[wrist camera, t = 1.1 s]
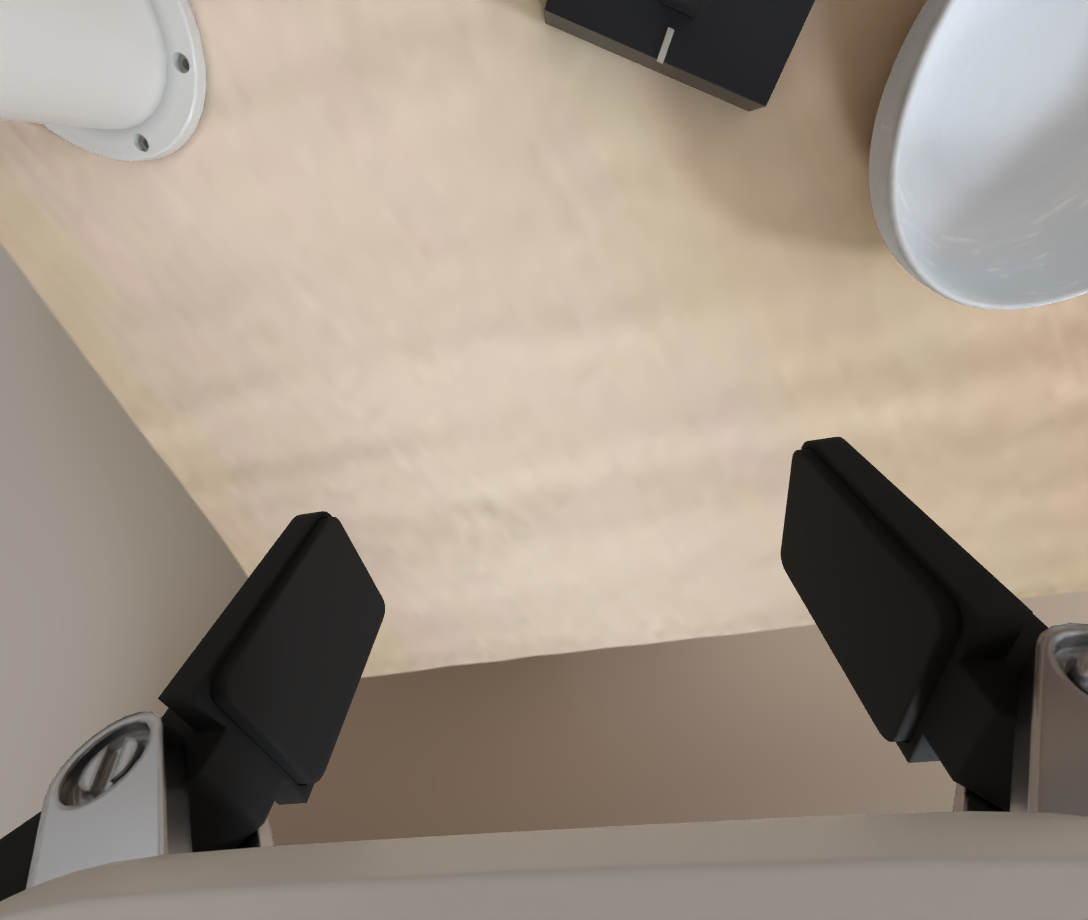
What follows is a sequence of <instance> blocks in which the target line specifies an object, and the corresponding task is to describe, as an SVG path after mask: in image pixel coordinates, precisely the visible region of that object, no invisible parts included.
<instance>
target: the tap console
mask: <svg viewBox="0 0 1088 920" xmlns="http://www.w3.org/2000/svg"><path fill="white" fill-rule="evenodd" d="M814 1H815V0H712V1H711V2H710V3H709V4H708V5H707V6H706V7H705V8H704V9H703V10H702V11H701V12H700V13H699V14H698V15H697V17H696V18H692V17H690V16H688V15H686V14H684V13H681V12H679V11H677V10H675V9H673V8H670V7H668V6H666V5H664V4H662V3H661V2H660V0H547V3H546V7H545V23H547V24H549V25H551V26H553V27H556V28H558V29H560V30H563V31H565V32H567V33H570V34H572V35H574V36H577V37H579V38H581V39H583V40H586V41H588V42H590V43H593V44H595V45H597V46H600V47H602V48H604V49H607V50H609V51H611V52H613V53H616V54H618V55H620V56H623V57H625V58H627V59H630V60H632V61H634V62H636V63H639V64H641V65H643V66H646V67H648V68H650V69H653V70H655V71H657V72H660V73H662V74H664V75H666V76H669V77H671V78H673V79H676V80H678V81H680V82H683V83H685V84H687V85H690V86H692V87H694V88H696V89H699V90H701V91H703V92H706V93H708V94H710V95H713V96H715V97H717V98H720V99H722V100H724V101H726V102H729V103H731V104H733V105H736V106H738V107H740V108H743V109H745V110H747V111H751V110H755V109H758V108H762V107H765V106H766V105H767V102H768V100H769V98H770V96H771V94H772V92H773V90H774V87H775V85H776V83H777V81H778V79H779V77H780V74H781V72H782V70H783V68H784V66H785V64H786V61H787V59H788V57H789V55H790V53H791V51H792V48H793V46H794V44H795V42H796V40H797V38H798V35H799V33H800V31H801V29H802V27H803V25H804V23H805V20H806V18H807V16H808V14H809V12H810V10H811V7H812V5H813V3H814Z"/></svg>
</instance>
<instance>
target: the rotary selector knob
mask: <svg viewBox="0 0 1088 920" xmlns="http://www.w3.org/2000/svg"><path fill="white" fill-rule="evenodd" d="M711 1H712V0H660V2H661V3H662V4H664V5H666V6H668V7H670V8H673V9H675V10H677V11H679V12H681V13H684V14H686V15H688V16H690V17H692V18H696V17H697V15H698V14H699V13H700V12H701V11H702V10H703V9H704V8H705V7H706V6H707V5H708V4H709V3H710V2H711Z"/></svg>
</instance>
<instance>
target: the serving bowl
mask: <svg viewBox="0 0 1088 920" xmlns="http://www.w3.org/2000/svg"><path fill="white" fill-rule="evenodd" d="M869 189H870V198H871V204H872V209H873V213H874V217H875V220H876V224H877V226H878V229H879V231H880V233H881V236H882V238H883V240H884V242H885V244H886V245H887V247H888V248H889V250H890V252H891V253H892V255H893V256H894V257H895V258H896V260H897V261H898V262H899V263H900V264H901V265H902V267H903V268H904V269H905V270H906V271H907V272H908V273H910V274H911V275H912V276H913V277H914V278H916V279H917V280H918V281H919V282H921V283H922V284H924V285H925V286H927V287H928V288H930V289H931V290H933V291H934V292H936V293H938V294H940V295H941V296H943V297H945V298H947V299H950V300H952V301H955V302H957V303H960V304H962V305H966V306H971V307H975V308H982V309H992V310H1016V309H1025V308H1033V307H1038V306H1043V305H1048V304H1053V303H1056V302H1060V301H1063V300H1067V299H1071V298H1074V297H1076V296H1079V295H1082V294H1085V293H1088V0H927V1H926V2H925V4H924V6H923V8H922V9H921V11H920V13H919V14H918V16H917V18H916V20H915V21H914V23H913V25H912V27H911V29H910V31H909V33H908V35H907V37H906V39H905V41H904V43H903V45H902V47H901V49H900V51H899V53H898V55H897V58H896V60H895V62H894V65H893V67H892V70H891V72H890V75H889V77H888V80H887V83H886V86H885V88H884V91H883V94H882V97H881V101H880V104H879V107H878V111H877V115H876V119H875V124H874V128H873V134H872V140H871V146H870V157H869Z"/></svg>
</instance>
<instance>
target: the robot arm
mask: <svg viewBox="0 0 1088 920" xmlns="http://www.w3.org/2000/svg"><path fill="white" fill-rule="evenodd" d="M188 63H189V68H188ZM205 94H206V64H205V59H204V53H203V48H202V42H201V37H200V34H199V31H198V28H197V24H196V21H195V18H194V15H193V12H192V9H191V7H190V4H189V2H188V0H0V120H8V121H19V122H29V123H40V124H42V125H44V126H45V127H46V128H48V129H49V130H50V131H51V132H53V133H54V134H56V135H58V136H59V137H61V138H63V139H64V140H66V141H68V142H69V143H71V144H73V145H74V146H76V147H79V148H81V149H83V150H86V151H88V152H91V153H93V154H95V155H98V156H102V157H107V158H111V159H115V160H123V161H146V160H156V159H159V158H162V157H164V156H167V155H170V154H172V153H173V152H175V151H176V150H177V149H179V148H180V147H181V146H183V145H184V144H185V143H186V142H187V140H188V139H189V138H190V136H191V135H192V134H193V132H194V131H195V130H196V127H197V125H198V122H199V120H200V117H201V115H202V112H203V107H204V101H205ZM781 560H782V564H783V567H784V569H785V571H786V573H787V575H788V576H789V578H790V580H791V582H792V583H793V585H794V587H795V588H796V590H797V592H798V594H799V595H800V597H801V599H802V601H803V602H804V604H805V606H806V607H807V609H808V611H809V613H810V614H811V616H812V618H813V619H814V621H815V623H816V625H817V626H818V628H819V630H820V631H821V633H822V634H823V637H824V638H825V640H826V641H827V643H828V645H829V647H830V649H831V650H832V652H833V654H834V655H835V657H836V659H837V661H838V662H839V664H840V666H841V667H842V669H843V671H844V672H845V674H846V676H847V678H848V679H849V681H850V683H851V685H852V686H853V688H854V690H855V691H856V693H857V695H858V697H859V698H860V700H861V702H862V703H863V705H864V707H865V709H866V710H867V712H868V714H869V715H870V717H871V719H872V721H873V722H874V724H875V726H876V727H877V729H878V730H879V732H880V734H881V735H882V736H883V737H884V738H885V739H886V740H888V741H890V742H896V743H897V745H898V746H899V748H900V750H901V751H902V753H903V755H904V756H905V758H906V760H907V761H908V763H913V762H928V761H941V763H942V764H943V766H944V767H945V769H946V770H947V772H948V773H949V775H950V776H951V778H952V779H953V781H955V782H956V783H957V784H956V791H955V798H954V806H953V812H932V813H931V812H929V813H900V814H865V815H835V816H814V817H795V818H794V817H793V818H774V819H753V820H735V821H734V820H733V821H713V822H693V823H674V824H653V825H634V826H616V827H597V828H581V829H580V828H579V829H560V830H542V831H526V832H506V833H488V834H473V835H472V834H471V835H452V836H435V837H418V838H403V839H402V838H401V839H384V840H368V841H351V842H335V843H318V844H303V845H285V846H275V845H274V840H273V835H272V830H271V826H270V821H269V816H268V814H269V812H270V809H271V807H272V805H273V803H274V801H276V802H277V803H278V804H279V805H281V804H295V803H307V801H308V798H309V796H310V793H311V790H312V788H313V785H314V783H316V782H318V781H319V780H320V779H321V777H322V776H323V774H324V772H325V770H326V767H327V765H328V762H329V759H330V757H331V754H332V752H333V749H334V746H335V743H336V741H337V738H338V736H339V733H340V730H341V728H342V725H343V723H344V720H345V717H346V715H347V712H348V710H349V707H350V704H351V702H352V699H353V696H354V694H355V691H356V689H357V686H358V683H359V681H360V678H361V675H362V673H363V670H364V668H365V665H366V662H367V660H368V657H369V654H370V652H371V649H372V647H373V644H374V641H375V639H376V636H377V633H378V631H379V628H380V626H381V623H382V620H383V618H384V614H385V604H384V600H383V598H382V596H381V594H380V593H379V591H378V589H377V587H376V585H375V584H374V582H373V580H372V578H371V576H370V575H369V573H368V571H367V569H366V567H365V566H364V564H363V562H362V560H361V558H360V557H359V555H358V553H357V551H356V549H355V548H354V546H353V544H352V542H351V540H350V539H349V537H348V535H347V533H346V531H345V530H344V528H343V526H342V524H341V522H340V521H339V520H338V519H337V518H336V517H332V516H331V515H330V514H329V513H327V512H324V511H322V512H315V513H308V514H302V515H298V516H296V517H295V518H294V519H293V520H292V521H291V522H290V523H289V525H288V526H287V527H286V529H285V530H284V531H283V533H282V534H281V535H280V537H279V538H278V539H277V541H276V542H275V543H274V545H273V546H272V547H271V549H270V550H269V551H268V553H267V554H266V555H265V557H264V558H263V559H262V561H261V562H260V563H259V565H258V566H257V567H256V569H255V570H254V571H253V573H252V574H251V575H250V577H249V578H248V579H247V581H246V582H245V583H244V585H243V586H242V588H241V589H240V590H239V591H238V593H237V594H236V595H235V597H234V598H233V599H232V601H231V602H230V603H229V605H228V606H227V607H226V609H225V610H224V611H223V613H222V614H221V615H220V617H219V618H218V619H217V621H216V622H215V623H214V625H213V626H212V627H211V629H210V630H209V631H208V633H207V634H206V635H205V637H204V638H203V639H202V641H201V642H200V643H199V645H198V646H197V647H196V649H195V650H194V651H193V653H192V654H191V655H190V657H189V658H188V659H187V661H186V662H185V663H184V664H183V666H182V667H181V669H180V670H179V671H178V673H177V674H176V675H175V677H174V678H173V679H172V680H171V682H170V683H169V684H168V686H167V687H166V688H165V690H164V691H163V693H162V694H161V695H160V696H159V698H158V699H159V700H160V701H161V702H163V703H164V704H165V705H166V706H167V707H168V708H169V709H168V710H167V711H166V713H165V714H164V715H163V717H162V718H161V717H159V716H158V715H156V714H155V713H153V712H138V713H135V714H132V715H129V716H125V717H123V718H121V719H119V720H117V721H115V722H114V723H112V724H110V725H108V726H107V727H105V728H104V729H102V730H101V731H100V732H98V733H97V734H95V735H94V736H92V737H91V738H90V739H89V740H88V741H87V742H85V743H84V744H83V745H82V746H81V747H80V748H79V749H78V750H77V751H75V752H74V754H73V755H72V756H71V757H70V758H69V759H68V760H67V761H66V763H65V764H64V765H63V766H62V767H61V768H60V770H59V771H58V773H57V774H56V776H55V777H54V779H53V780H52V782H51V784H50V785H49V788H48V791H47V794H46V796H45V798H44V802H43V807H42V811H41V812H40V813H38V814H36V815H35V816H34V817H32V818H31V819H29V820H28V821H26V822H25V823H23V824H22V825H21V826H19V827H18V828H16V829H15V830H13V831H12V832H10V833H9V834H7V835H6V836H5V837H3V838H2V839H0V920H1088V624H1077V623H1068V624H1062V625H1056V626H1052V627H1050V628H1048V627H1047V626H1046V625H1044V623H1042V622H1041V621H1040V620H1039V619H1038V618H1037V617H1036V616H1035V615H1034V614H1033V613H1032V611H1031V610H1030V609H1029V608H1028V607H1027V606H1025V605H1024V604H1023V603H1022V602H1021V601H1020V600H1019V599H1018V598H1017V597H1016V596H1015V595H1014V594H1013V593H1011V592H1010V591H1009V590H1008V589H1007V588H1006V587H1005V586H1004V585H1003V584H1002V583H1000V582H999V581H998V580H997V579H996V578H995V577H994V576H993V575H992V574H991V573H990V572H988V571H987V570H986V569H985V568H984V567H983V566H982V565H981V564H980V563H979V562H978V561H976V560H975V559H974V558H973V557H972V556H971V555H970V554H969V553H968V552H967V551H966V550H964V549H963V548H962V547H961V546H960V545H959V544H958V543H957V542H956V541H955V540H954V539H952V538H951V537H950V536H949V535H948V534H947V533H946V532H945V531H944V530H943V529H942V528H940V527H939V526H938V525H937V524H936V523H935V522H934V521H933V520H932V519H931V518H930V517H928V516H927V515H926V514H925V513H924V512H923V511H922V510H921V509H920V508H919V507H918V506H916V505H915V504H914V503H913V502H912V501H911V500H910V499H909V498H908V497H907V496H906V495H904V494H903V493H902V492H901V491H900V490H899V489H898V488H897V487H896V486H895V485H893V484H892V483H891V482H890V481H889V480H888V479H887V478H886V477H885V476H884V475H883V474H881V473H880V472H879V471H878V470H877V469H876V468H875V467H874V466H873V465H872V464H871V463H869V462H868V461H867V460H866V459H865V458H864V457H863V456H862V455H861V454H860V453H859V452H857V451H856V450H855V449H854V448H853V447H852V446H851V445H850V444H849V443H848V442H847V441H845V440H844V439H843V438H841V437H832V438H826V439H819V440H812V441H807V442H805V443H804V444H803V446H802V449H801V450H797V451H795V452H794V454H793V457H792V465H791V473H790V481H789V489H788V497H787V505H786V513H785V521H784V530H783V538H782V546H781Z"/></svg>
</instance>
